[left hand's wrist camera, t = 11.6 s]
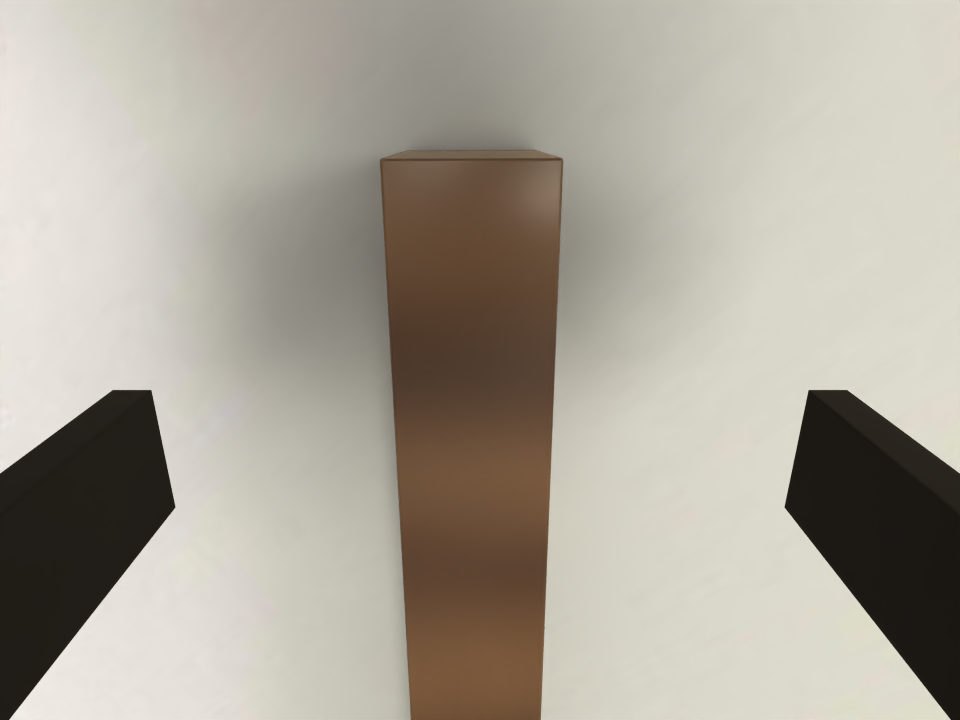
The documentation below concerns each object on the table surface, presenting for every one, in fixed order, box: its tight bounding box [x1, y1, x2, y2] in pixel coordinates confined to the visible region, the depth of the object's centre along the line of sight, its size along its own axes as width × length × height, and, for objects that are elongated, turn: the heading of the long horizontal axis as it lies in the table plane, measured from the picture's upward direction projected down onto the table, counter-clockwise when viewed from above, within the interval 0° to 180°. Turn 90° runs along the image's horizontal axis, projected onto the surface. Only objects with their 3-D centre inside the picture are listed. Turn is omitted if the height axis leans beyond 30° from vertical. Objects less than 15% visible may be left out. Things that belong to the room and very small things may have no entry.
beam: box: [380, 150, 563, 720], centre depth 32 cm, size 50×6×8 cm, turn 0°
